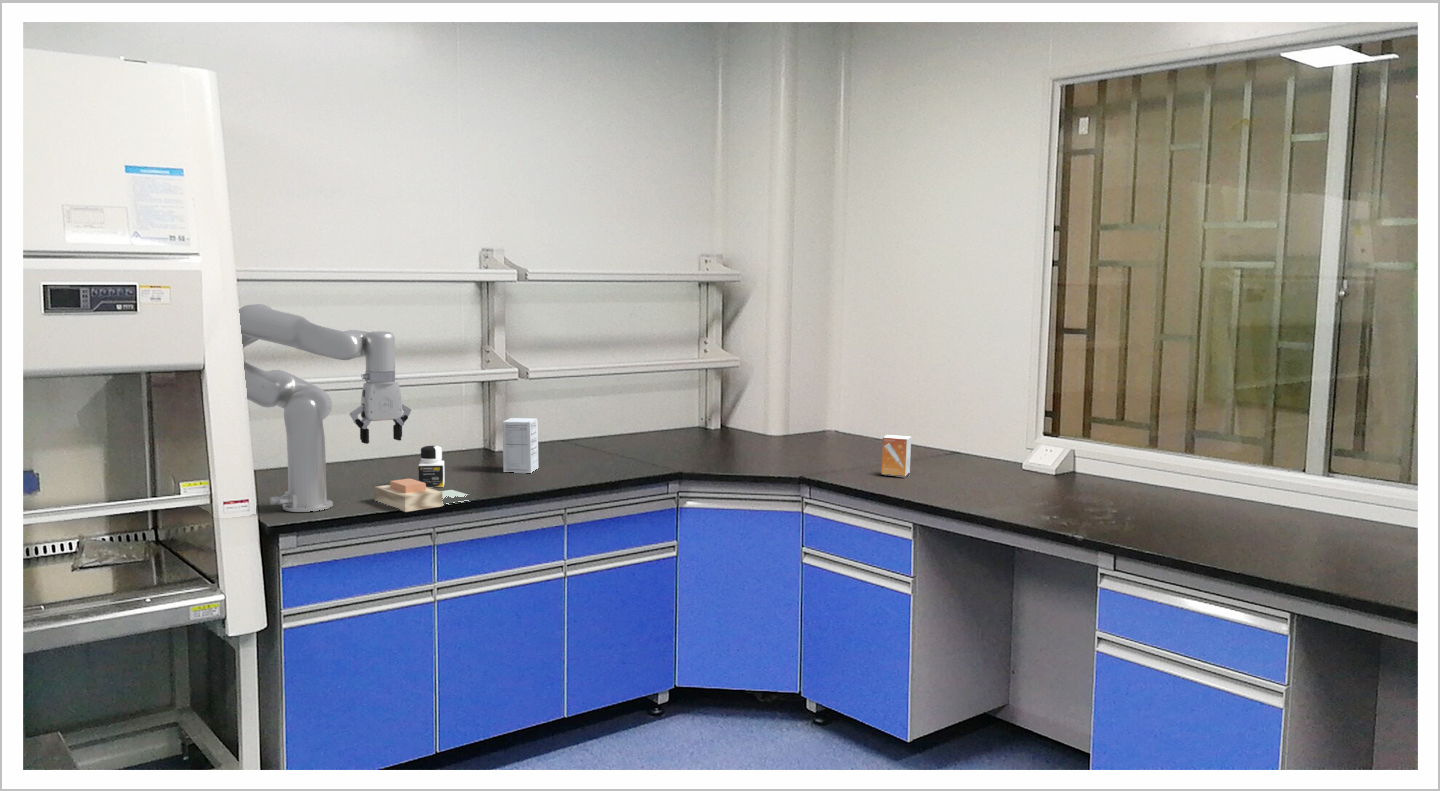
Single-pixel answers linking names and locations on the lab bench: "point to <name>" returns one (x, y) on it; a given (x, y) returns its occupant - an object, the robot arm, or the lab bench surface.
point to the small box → (896, 455)
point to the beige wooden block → (408, 498)
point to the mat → (453, 494)
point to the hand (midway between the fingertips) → (381, 441)
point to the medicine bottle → (431, 467)
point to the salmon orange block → (407, 485)
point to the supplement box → (520, 445)
